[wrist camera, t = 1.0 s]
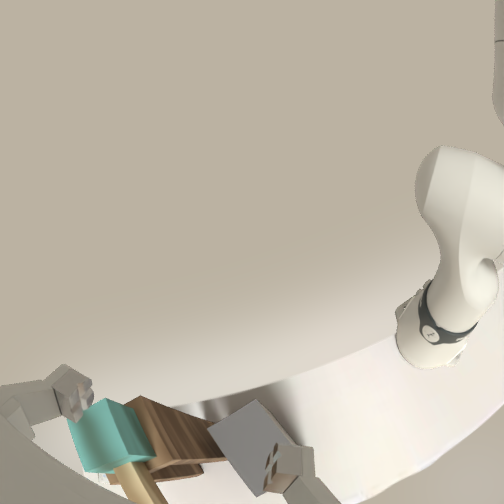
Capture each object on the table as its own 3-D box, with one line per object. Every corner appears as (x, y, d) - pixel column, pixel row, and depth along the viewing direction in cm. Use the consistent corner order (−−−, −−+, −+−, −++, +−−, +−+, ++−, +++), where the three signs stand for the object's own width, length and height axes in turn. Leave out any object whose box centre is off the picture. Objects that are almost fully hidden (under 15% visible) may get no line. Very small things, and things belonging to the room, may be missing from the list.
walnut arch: (214, 422, 44) (140, 395, 25) (236, 456, 39) (173, 459, 20) (176, 443, 42) (85, 424, 22) (197, 476, 37) (110, 484, 18)
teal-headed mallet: (133, 408, 24) (105, 397, 20) (203, 528, 14) (181, 541, 11) (96, 427, 22) (66, 418, 19) (156, 542, 13) (129, 552, 9)
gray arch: (270, 411, 44) (255, 398, 33) (309, 459, 37) (309, 465, 25) (234, 434, 42) (206, 428, 31) (271, 483, 35) (256, 497, 23)
